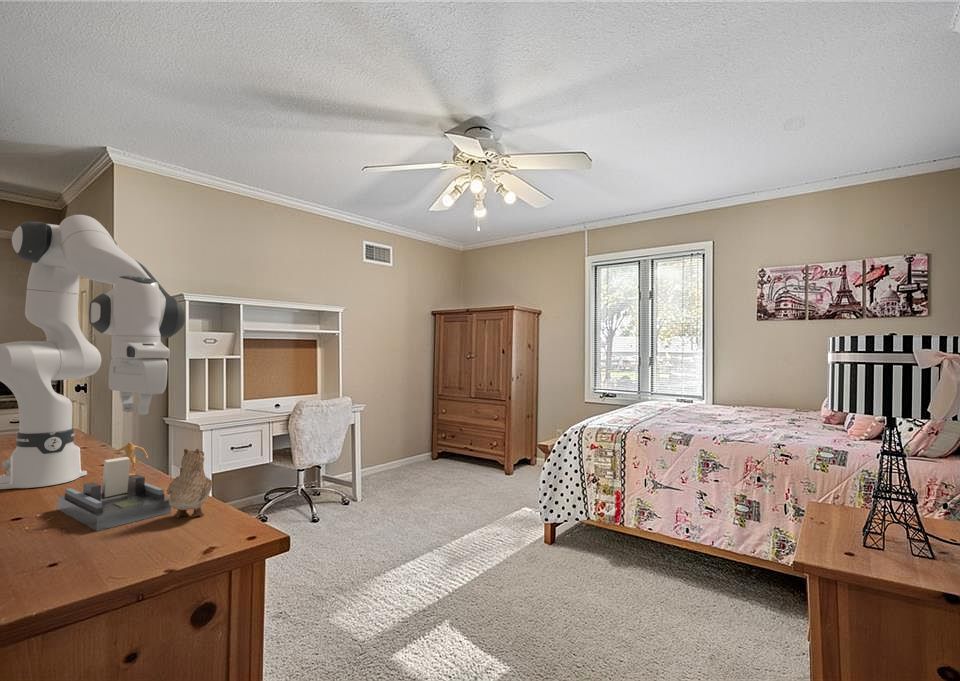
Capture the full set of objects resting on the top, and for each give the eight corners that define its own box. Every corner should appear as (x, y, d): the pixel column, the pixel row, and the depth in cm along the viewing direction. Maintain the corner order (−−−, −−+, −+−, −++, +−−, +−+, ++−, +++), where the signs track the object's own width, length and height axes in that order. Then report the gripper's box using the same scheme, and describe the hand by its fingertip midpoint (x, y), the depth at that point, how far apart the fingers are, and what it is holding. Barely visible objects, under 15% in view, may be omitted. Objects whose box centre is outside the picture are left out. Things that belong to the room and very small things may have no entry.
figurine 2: (221, 510, 114) (223, 445, 114) (197, 525, 104) (198, 454, 104) (182, 509, 114) (184, 444, 114) (154, 524, 104) (156, 453, 104)
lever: (100, 497, 111) (103, 460, 110) (124, 492, 115) (127, 456, 114) (103, 500, 110) (106, 462, 110) (128, 495, 114) (131, 458, 113)
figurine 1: (109, 492, 126) (110, 446, 127) (109, 487, 131) (110, 442, 131) (148, 487, 132) (149, 442, 132) (147, 482, 136) (147, 439, 136)
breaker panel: (58, 509, 113) (58, 479, 113) (128, 495, 125) (128, 467, 125) (96, 531, 100) (97, 496, 100) (171, 512, 112) (171, 481, 112)
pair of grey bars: (64, 497, 112) (64, 488, 113) (129, 484, 123) (129, 476, 123) (97, 513, 102) (97, 503, 102) (164, 498, 112) (164, 489, 112)
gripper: (100, 349, 111) (99, 410, 110) (140, 350, 99) (139, 418, 99) (132, 349, 116) (131, 408, 116) (173, 350, 104) (172, 415, 104)
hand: (135, 413), depth 107 cm, fingers open, 6 cm apart
